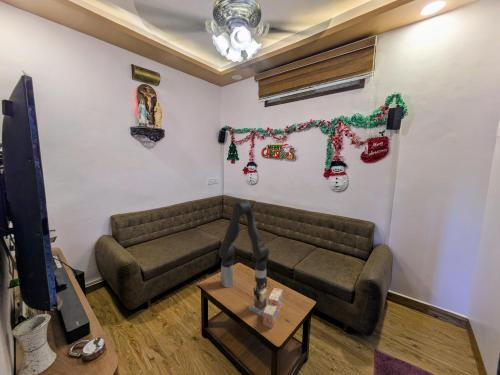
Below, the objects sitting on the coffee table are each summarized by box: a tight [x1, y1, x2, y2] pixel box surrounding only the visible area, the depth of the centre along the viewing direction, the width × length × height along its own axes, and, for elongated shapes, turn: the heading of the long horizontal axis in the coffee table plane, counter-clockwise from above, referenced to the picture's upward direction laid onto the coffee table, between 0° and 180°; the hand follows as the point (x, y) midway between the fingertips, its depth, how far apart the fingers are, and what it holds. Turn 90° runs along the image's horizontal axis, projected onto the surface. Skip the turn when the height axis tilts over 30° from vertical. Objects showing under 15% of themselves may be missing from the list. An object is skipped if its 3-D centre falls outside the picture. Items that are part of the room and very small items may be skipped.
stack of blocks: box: [262, 287, 284, 329], centre depth 136 cm, size 21×6×12 cm, turn 155°
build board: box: [248, 301, 268, 318], centre depth 143 cm, size 11×12×1 cm
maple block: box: [253, 287, 268, 302], centre depth 141 cm, size 6×6×6 cm
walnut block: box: [253, 297, 267, 310], centre depth 142 cm, size 6×6×6 cm
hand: (260, 296), depth 142 cm, fingers closed on maple block, 5 cm apart
